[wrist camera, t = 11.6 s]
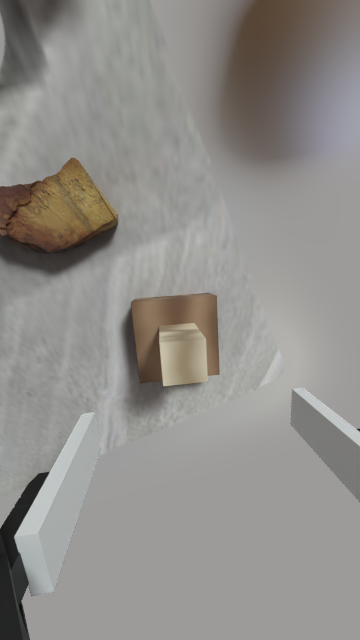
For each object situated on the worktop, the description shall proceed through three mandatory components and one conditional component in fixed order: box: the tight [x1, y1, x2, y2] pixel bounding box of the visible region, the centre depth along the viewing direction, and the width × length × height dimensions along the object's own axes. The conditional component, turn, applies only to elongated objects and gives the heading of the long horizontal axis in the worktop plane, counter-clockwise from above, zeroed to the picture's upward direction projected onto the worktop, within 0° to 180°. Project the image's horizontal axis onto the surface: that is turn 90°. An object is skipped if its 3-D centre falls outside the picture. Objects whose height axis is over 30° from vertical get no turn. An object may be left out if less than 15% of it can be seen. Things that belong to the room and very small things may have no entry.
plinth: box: [131, 293, 219, 383], centre depth 34 cm, size 12×12×5 cm
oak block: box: [159, 323, 208, 386], centre depth 28 cm, size 5×5×8 cm
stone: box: [0, 158, 118, 253], centre depth 29 cm, size 15×9×5 cm, turn 113°
